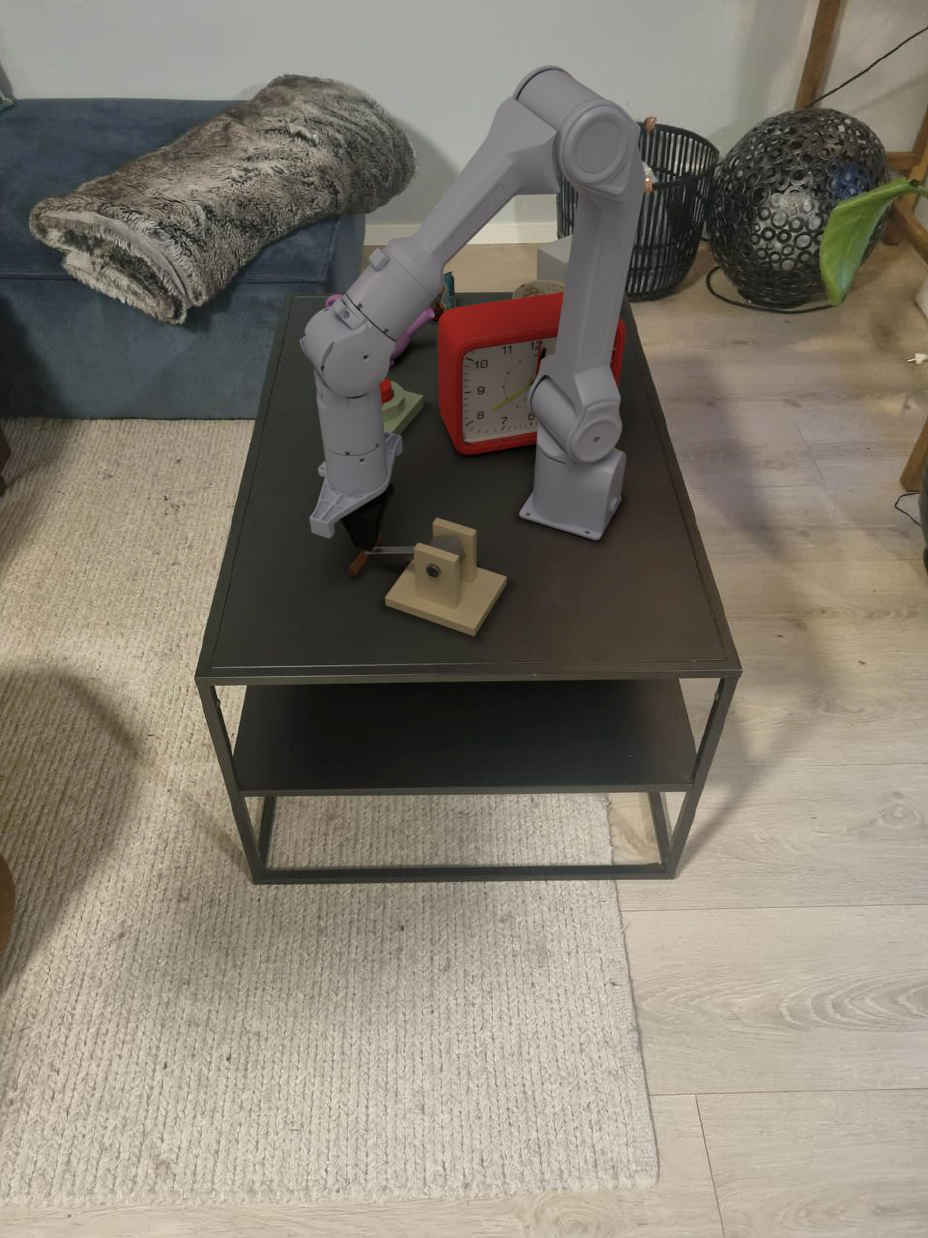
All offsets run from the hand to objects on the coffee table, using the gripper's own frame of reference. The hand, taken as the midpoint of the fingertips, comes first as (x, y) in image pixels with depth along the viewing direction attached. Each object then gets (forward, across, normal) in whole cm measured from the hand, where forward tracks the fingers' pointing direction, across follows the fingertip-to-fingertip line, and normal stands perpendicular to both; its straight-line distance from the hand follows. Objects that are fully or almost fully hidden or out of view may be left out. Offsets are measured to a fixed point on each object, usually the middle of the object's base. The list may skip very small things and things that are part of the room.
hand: (365, 545), depth 96 cm
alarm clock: (+4, -30, +5) cm, 31 cm away
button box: (+3, -24, -12) cm, 27 cm away
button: (0, -24, -12) cm, 27 cm away
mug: (+4, -42, +4) cm, 42 cm away
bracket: (+3, 0, +9) cm, 10 cm away
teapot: (+3, -37, -19) cm, 42 cm away
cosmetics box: (+3, -58, +2) cm, 58 cm away
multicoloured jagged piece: (0, -50, -21) cm, 54 cm away
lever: (0, 0, +6) cm, 6 cm away
